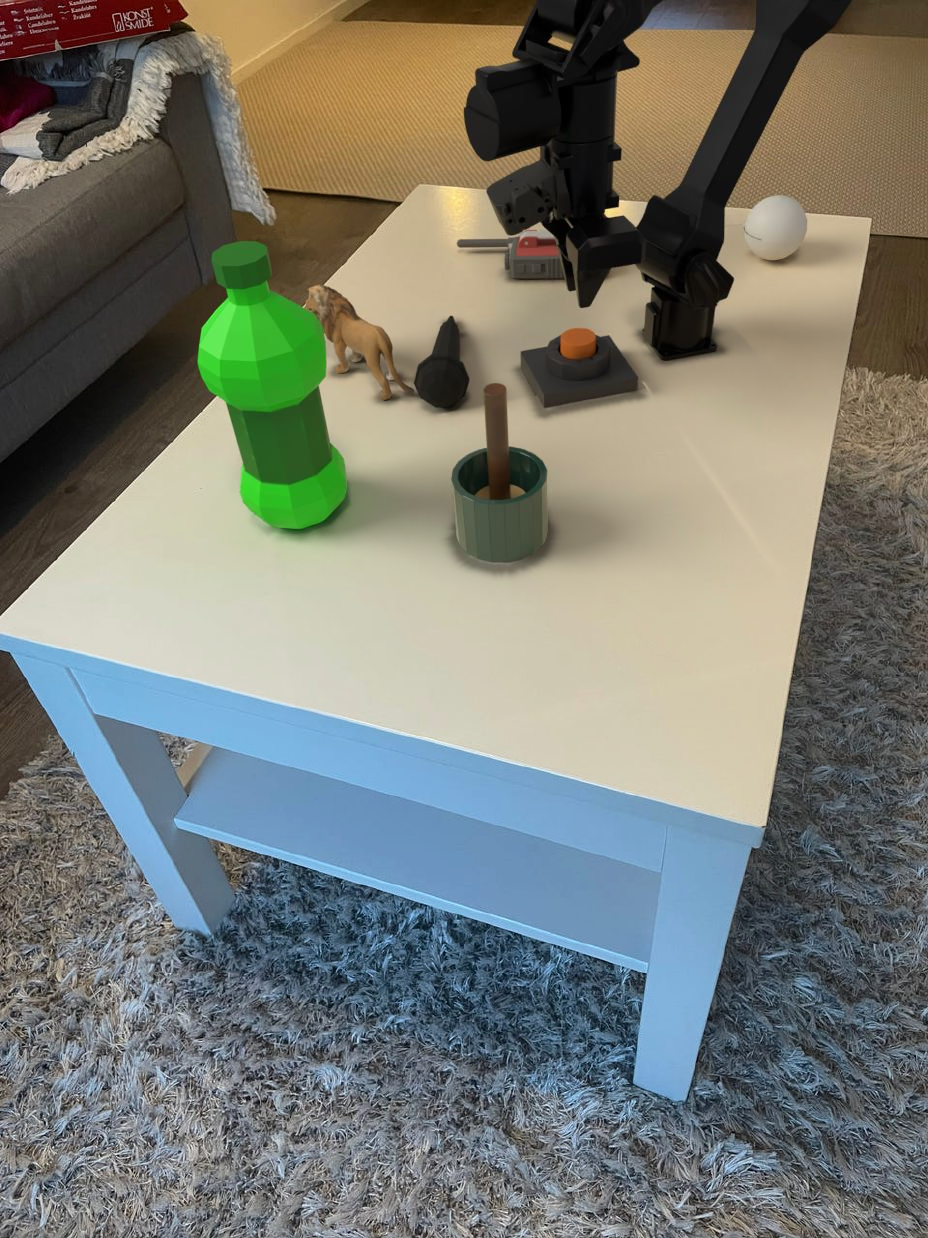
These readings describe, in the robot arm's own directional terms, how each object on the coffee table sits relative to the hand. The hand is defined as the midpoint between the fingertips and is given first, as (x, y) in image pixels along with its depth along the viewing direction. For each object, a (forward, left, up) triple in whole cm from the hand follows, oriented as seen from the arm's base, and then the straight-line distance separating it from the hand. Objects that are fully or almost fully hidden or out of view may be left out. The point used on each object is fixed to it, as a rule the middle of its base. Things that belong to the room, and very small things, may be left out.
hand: (578, 298), depth 95 cm
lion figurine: (+22, -9, -10) cm, 26 cm away
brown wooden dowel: (+14, +22, -9) cm, 28 cm away
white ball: (-30, -20, -10) cm, 37 cm away
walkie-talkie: (-3, -28, -10) cm, 30 cm away
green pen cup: (+14, +22, -10) cm, 28 cm away
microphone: (+12, -7, -10) cm, 17 cm away
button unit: (0, 0, -10) cm, 10 cm away
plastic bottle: (+31, +13, -10) cm, 35 cm away
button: (0, 0, -6) cm, 6 cm away
